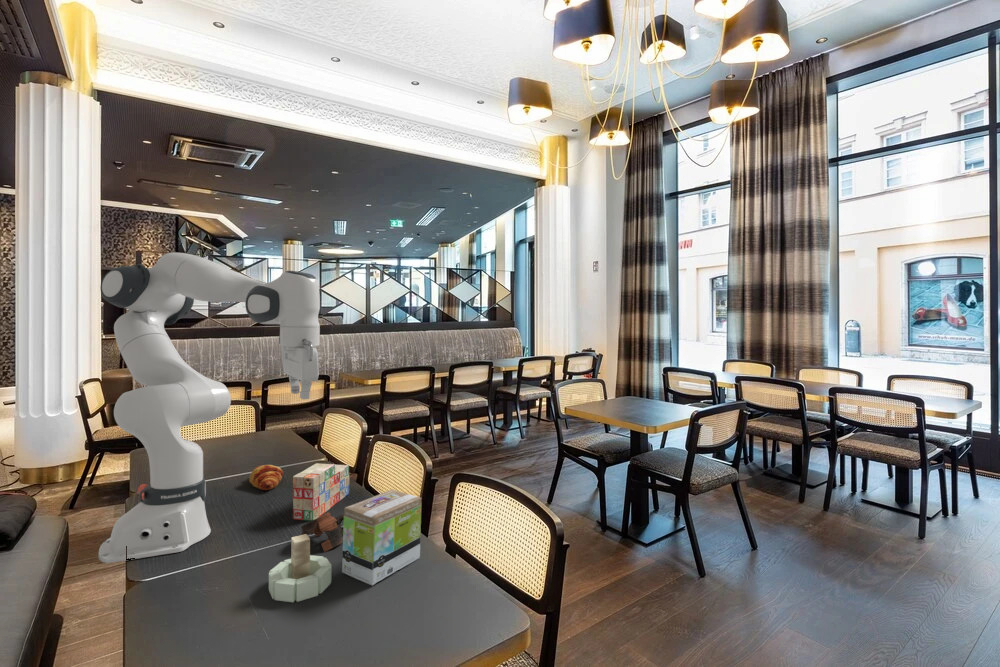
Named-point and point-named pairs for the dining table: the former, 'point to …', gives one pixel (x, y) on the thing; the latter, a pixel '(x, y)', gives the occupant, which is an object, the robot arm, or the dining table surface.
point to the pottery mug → (326, 530)
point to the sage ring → (299, 580)
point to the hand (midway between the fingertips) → (299, 396)
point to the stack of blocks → (319, 490)
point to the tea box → (381, 535)
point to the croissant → (266, 477)
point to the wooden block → (300, 556)
